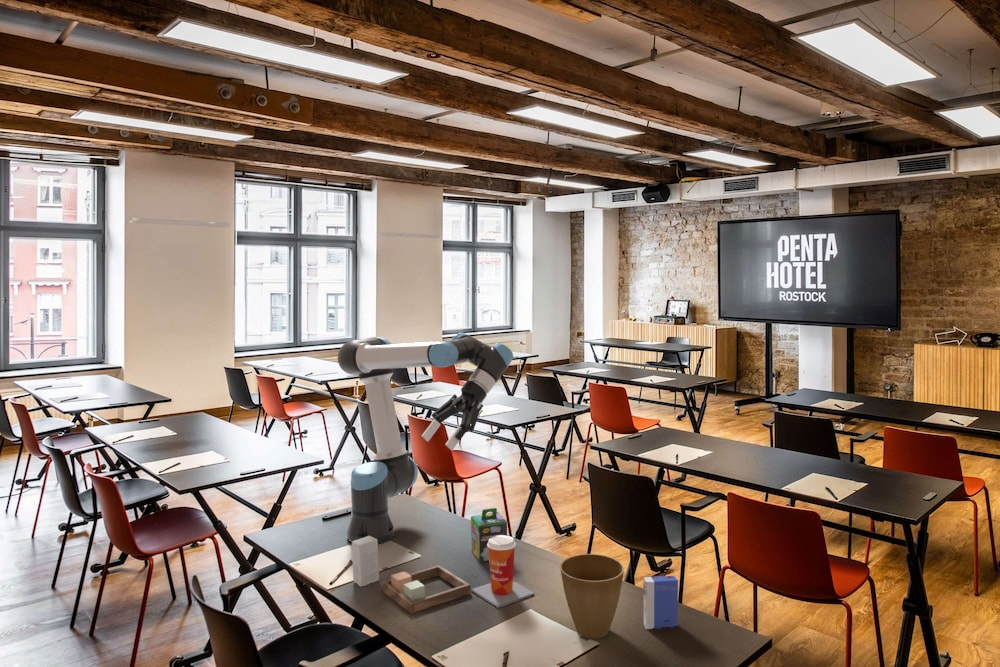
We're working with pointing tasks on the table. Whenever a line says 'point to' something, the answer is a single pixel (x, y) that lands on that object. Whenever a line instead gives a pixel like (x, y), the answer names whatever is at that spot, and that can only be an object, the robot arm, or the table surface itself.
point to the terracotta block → (400, 581)
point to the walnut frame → (432, 600)
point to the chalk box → (486, 531)
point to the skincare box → (365, 561)
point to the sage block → (414, 590)
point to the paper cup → (501, 563)
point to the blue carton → (660, 601)
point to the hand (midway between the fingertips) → (436, 443)
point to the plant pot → (592, 592)
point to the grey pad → (501, 600)
